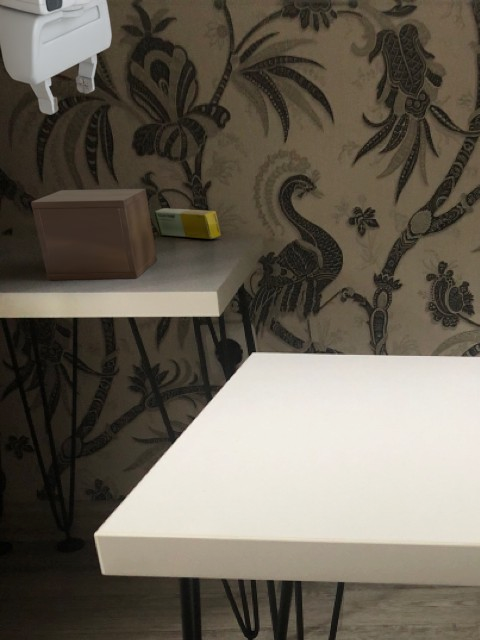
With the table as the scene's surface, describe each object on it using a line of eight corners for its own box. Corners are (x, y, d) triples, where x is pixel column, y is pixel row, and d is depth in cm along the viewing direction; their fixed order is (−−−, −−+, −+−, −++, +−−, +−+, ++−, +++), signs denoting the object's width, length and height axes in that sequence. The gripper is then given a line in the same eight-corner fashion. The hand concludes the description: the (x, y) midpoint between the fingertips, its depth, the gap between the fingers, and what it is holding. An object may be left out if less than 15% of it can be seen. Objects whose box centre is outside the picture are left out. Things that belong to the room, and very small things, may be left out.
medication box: (158, 236, 154) (152, 210, 151) (170, 232, 156) (164, 207, 153) (211, 239, 148) (205, 213, 146) (222, 235, 150) (217, 209, 148)
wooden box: (75, 262, 133) (61, 190, 128) (157, 260, 133) (145, 188, 129) (48, 280, 121) (30, 202, 116) (137, 278, 122) (123, 200, 117)
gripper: (71, -43, 118) (84, 74, 127) (-20, -12, 103) (2, 118, 113) (118, -32, 117) (127, 85, 127) (33, 2, 103) (51, 131, 113)
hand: (68, 101), depth 120 cm, fingers open, 8 cm apart
